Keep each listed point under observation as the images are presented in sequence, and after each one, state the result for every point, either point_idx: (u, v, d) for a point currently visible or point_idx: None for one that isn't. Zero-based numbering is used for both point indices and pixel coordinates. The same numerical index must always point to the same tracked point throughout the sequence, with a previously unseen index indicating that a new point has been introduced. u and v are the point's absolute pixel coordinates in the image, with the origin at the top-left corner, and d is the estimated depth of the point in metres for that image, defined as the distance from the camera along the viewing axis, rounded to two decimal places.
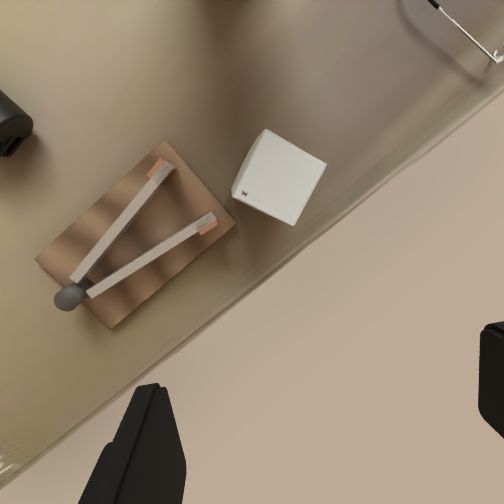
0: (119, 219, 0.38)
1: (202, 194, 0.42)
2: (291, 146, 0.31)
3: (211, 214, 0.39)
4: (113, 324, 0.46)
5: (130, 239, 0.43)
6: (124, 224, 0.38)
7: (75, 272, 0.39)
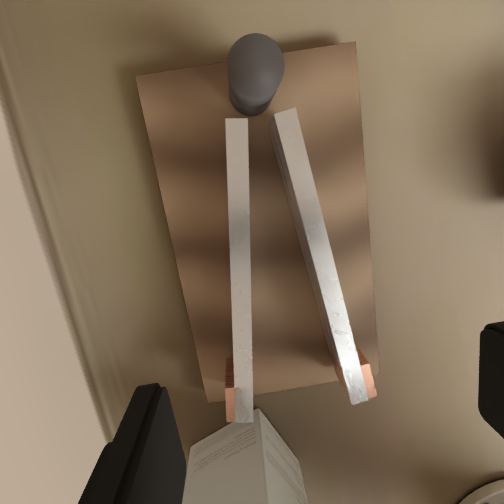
0: (334, 279, 0.19)
1: (278, 380, 0.25)
2: None
3: (248, 420, 0.21)
4: (142, 89, 0.20)
5: (280, 237, 0.22)
6: (321, 281, 0.19)
7: (297, 129, 0.17)
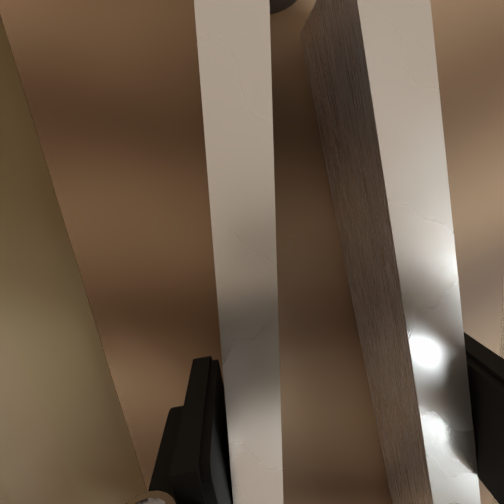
0: (462, 430, 0.07)
1: None
2: None
3: None
4: None
5: (322, 289, 0.11)
6: (429, 435, 0.07)
7: None
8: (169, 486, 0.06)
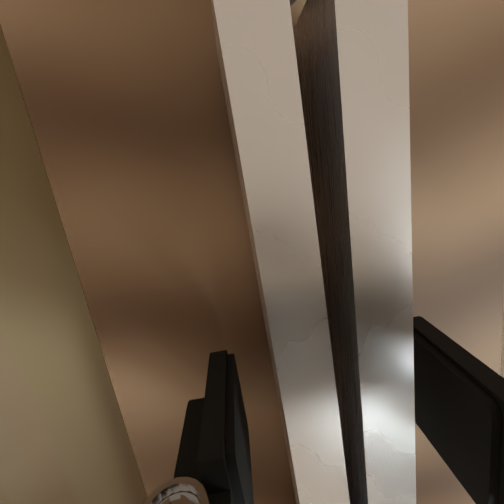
0: (405, 452, 0.07)
1: None
2: None
3: None
4: None
5: None
6: (371, 454, 0.07)
7: (396, 16, 0.05)
8: (194, 474, 0.07)
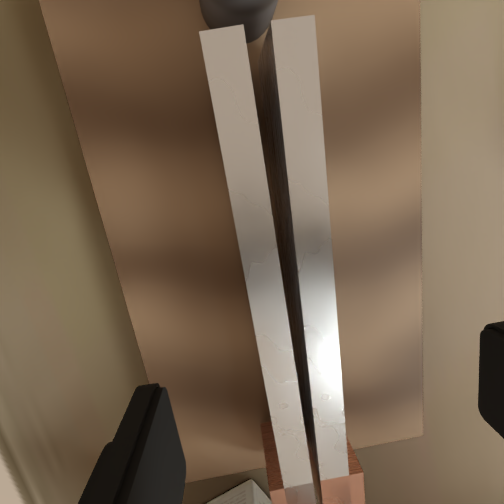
0: (332, 341, 0.11)
1: None
2: None
3: None
4: None
5: None
6: (309, 342, 0.11)
7: (311, 60, 0.09)
8: None
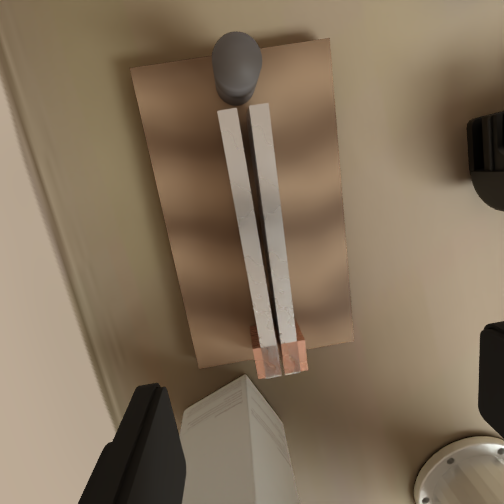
0: (283, 260, 0.22)
1: None
2: None
3: (277, 374, 0.24)
4: (136, 80, 0.22)
5: None
6: (271, 261, 0.22)
7: (267, 122, 0.19)
8: None
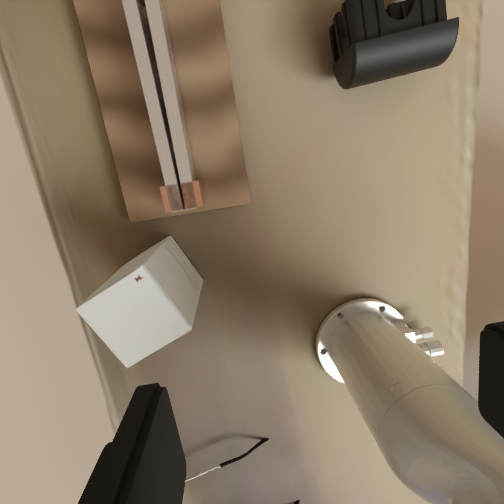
0: (177, 114, 0.30)
1: None
2: (162, 344, 0.28)
3: (179, 209, 0.32)
4: None
5: None
6: (168, 114, 0.30)
7: (157, 6, 0.28)
8: None
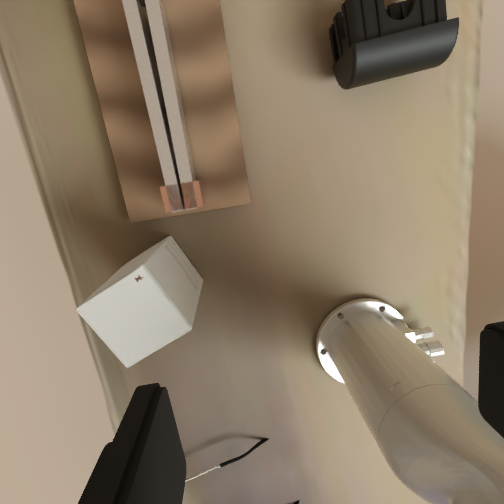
0: (177, 114, 0.30)
1: None
2: (162, 344, 0.28)
3: (179, 209, 0.32)
4: None
5: None
6: (168, 114, 0.30)
7: (157, 6, 0.28)
8: None
